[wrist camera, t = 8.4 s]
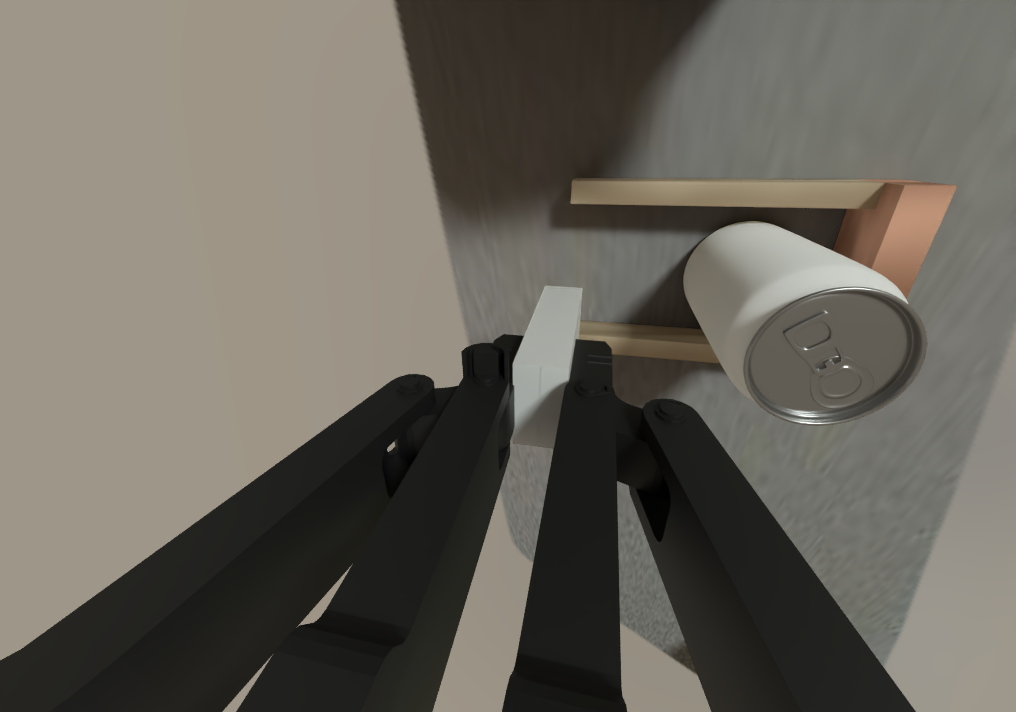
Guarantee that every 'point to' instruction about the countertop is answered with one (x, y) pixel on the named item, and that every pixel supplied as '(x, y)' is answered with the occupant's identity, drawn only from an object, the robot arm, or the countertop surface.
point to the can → (802, 324)
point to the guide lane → (863, 234)
